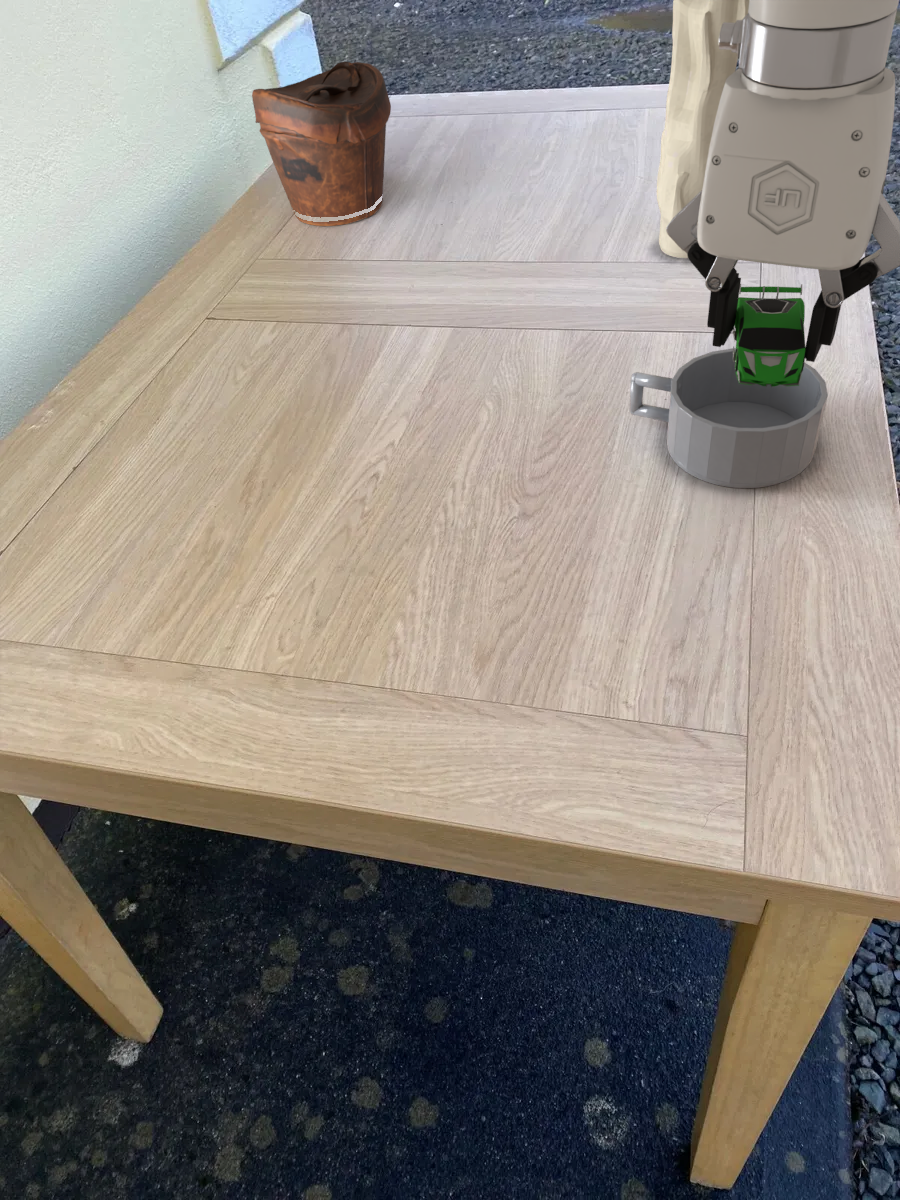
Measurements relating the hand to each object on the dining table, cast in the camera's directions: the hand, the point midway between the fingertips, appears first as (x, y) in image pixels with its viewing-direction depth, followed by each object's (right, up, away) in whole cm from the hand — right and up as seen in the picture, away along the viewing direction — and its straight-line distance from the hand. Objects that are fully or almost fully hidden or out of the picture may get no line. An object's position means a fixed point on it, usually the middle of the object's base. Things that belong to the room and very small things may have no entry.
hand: (768, 341), depth 63 cm
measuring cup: (+3, -3, +22) cm, 22 cm away
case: (-37, +39, +69) cm, 87 cm away
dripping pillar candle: (+7, +25, +49) cm, 55 cm away
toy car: (0, -1, 0) cm, 1 cm away
